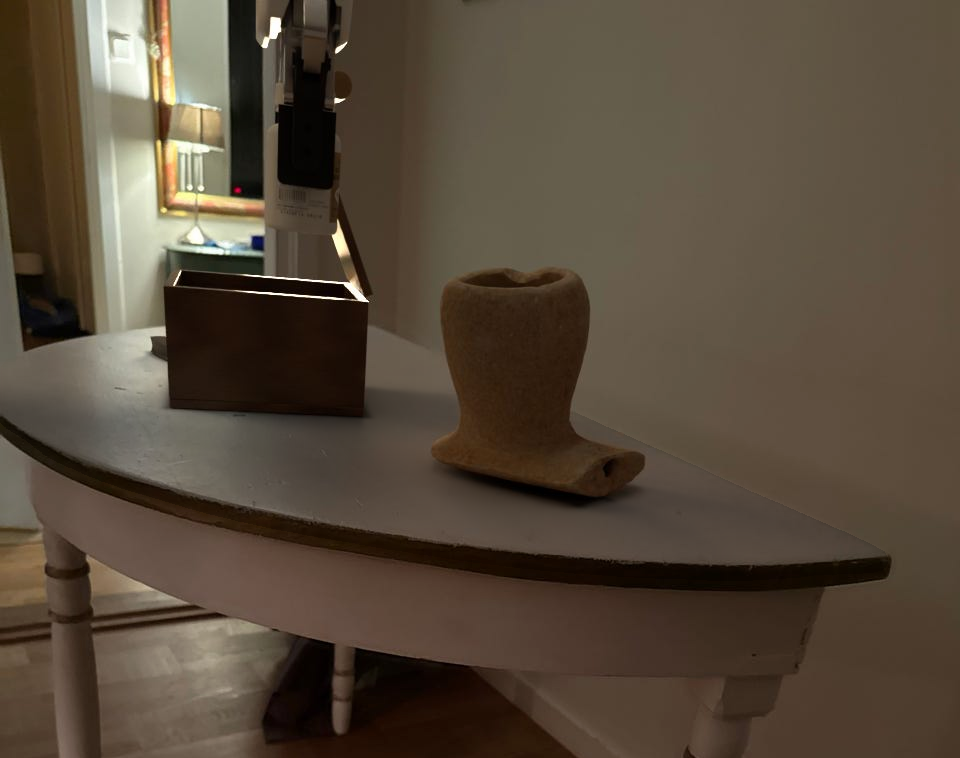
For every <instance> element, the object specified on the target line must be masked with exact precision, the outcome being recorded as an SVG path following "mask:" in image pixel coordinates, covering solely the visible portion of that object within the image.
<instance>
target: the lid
mask: <svg viewBox="0 0 960 758" xmlns="http://www.w3.org/2000/svg"><path fill="white" fill-rule="evenodd" d="M277 81H278V82H279V81H280V76H279V77H278V78H277ZM334 92H335V104H337V103H340V102H342V101H344V100H346V99H347V98H348V97H350V95H351V94H352V92H353V82H352V79H351V77H350V75H348V74H347V72H345V71H342V70H335V86H334ZM331 237H332V240H333V243H334V247H335V248H336V252H337V255H338V257H339V259H340V263H341V266H342V269H343V271H344V274H345V278H346V280H347V281H348V283H351V284H352V286H353V287H354V288H355V289H356V290H357V291H358V292H359V293H360V294H361V295H362V296H363V297H364V298H367V297H371V296H373V295H374V293H373V289H372V286H371V283H370V280H369V278H368V275H367V272H366V269H365V265H364V262H363V259H362V256H361V254H360V251H359V247H358V244H357V242H356V239H355V235H354V233H353V230H352V227H351V224H350V221H349V218H348V215H347V212H346V209H345V205H344V202H343V200H342V197H341V194H340V193H339V205H338V220H337V232H336V233H335V234H334V235H331Z"/></svg>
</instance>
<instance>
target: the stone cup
mask: <svg viewBox="0 0 960 758" xmlns="http://www.w3.org/2000/svg"><path fill="white" fill-rule="evenodd" d="M447 281H448V282H446V284H445V285H444V287H443V290H442V292H441V296H440V303H439V319H440V321H439V323H440V330H441V336H442V342H443V348H444V354H445V358H446V363H447V367H448V370H449V374H450V377H451V380H452V383H453V384H452V385H453V387H454V391H455V395H456V397H457V401H458V402H457V403H458V406H459V412H460V414H459V420H458V425H457V427H456V428H455V430H454V431H452V432H450V433H448V434H446V435H444V436H442V437H440V438H439V439H437V440H436V441H435V442H433V444H432V445H431V447H430V454H431V456H432V458H434V459H435V460H436V461H437V462H439V463H442V464H445V465H448V466H451V467H454V468H457V469H460V470H464V471H467V472H471V473H475V474H481V475H485V476H489V477H493V478H497V479H502V480H505V481H506V480H507V481H511V482H515V483H521V484H526V485H531V486H535V487H541V488H545V489H550V490H555V491H561V492H565V493H571V494H575V495H576V494H577V495H581V496H584V497H585V496H586V497H594V498H598V497H604V496H606V495H609V494H612V493H614V492H616V491H617V490H620V489H622V488H624V487H625V486H626V485H627V484H629V483H631V482H633V481H634V479H635V478H636V477H637V476H638V475H640V473H641V472H643V471H644V469H645V466H646V455H645V453H644V454H643V453H642V452H640V451H637V450H633V449H628V448H624V447H620V446H616V445H611V444H609V443H608V444H607V443H604V442H600V441H596V440H592V439H589V438H586V437H584V436H582V435H581V434H579V433H577V432H576V429H574V427H573V426H572V423H571V419H570V417H571V408H572V402H573V398H574V394H575V390H576V387H577V384H578V380H579V377H580V373H581V372H582V371H581V370H582V366H583V363H584V359H585V355H586V351H587V347H588V341H589V333H590V324H591V322H590V321H591V302H590V297H589V292H588V290H587V288H586V286H585V283H584V281H583V279H582V277H581V276H580V275H579V274H578V273H577V272H575V271H573V270H572V269H570V268H562V267H558V266H544V267H541V268H539V269H538V270H534V271H531V272H523V271H519V270H516V269H513V268H508V267H493V268H492V267H491V268H484V269H479V270H473V271H469V272H466V273H464V274H461V275H456V276H453V277H452V278H450V279H449V280H447Z"/></svg>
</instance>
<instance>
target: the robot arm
mask: <svg viewBox="0 0 960 758" xmlns="http://www.w3.org/2000/svg"><path fill="white" fill-rule="evenodd" d="M353 4H354V0H255V40H256V41H257V43H258V44H259V46H261V47H262V48H264V49H267V48H268V45H269V41H270V39H272V40H273V39H274V40H276V39H277V37H278V35H279V33H280V44H279V45H280V46H279V48H280V49H279V77H280V81H278V83H284V88H283V103H284V104H286V105H283V104H278V112H277V111H276V110H275V109H276V108H277V107H274V124H277V123H278V153H277V178H278V180H279V182H280V183H282V184H285V185H293V186H300V187H308V188H316V189H324V190H329V189H331V188H332V186H333V181H334V158H335V135H337V134H336V133H337V112H336V111H335V112H333V108H334V86H335V71H336V54H338V53H339V52H340V51H342V49H343V48H344V47H345V46H346V45H347V44H348V41H349V37H350V33H351V32H350V31H351V24H352V15H353V6H354V5H353ZM290 105H292V106H290ZM323 110H325V111H323ZM329 111H332V112H329Z"/></svg>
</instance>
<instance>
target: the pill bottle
mask: <svg viewBox="0 0 960 758" xmlns="http://www.w3.org/2000/svg"><path fill="white" fill-rule="evenodd" d="M283 88H284V83H279V82H276V83H275V89H274V90H275V94H274V106H275V108H276V109H275V108H274V111H275V110H276V111H277V112H278V104H283V105H286V104H284V103H283ZM290 106H292V105H290ZM323 111H325V110H323ZM329 112H332V111H329ZM333 112H336V103H335V92H334V108H333ZM265 144H266V146H265V198H264V199H265V200H264V202H265V203H264V207H265V208H264V215H265V216H264V221H265V225H266V226H267V227H268V228H270V229H274V230H278V231H284V232H290V233H297V234H303V235H306V234H307V235H317V236H332V235H334V234H335V233H336V232H337V220H338V205H339V194H340V179H341V177H340V176H341V161H342V160H341V159H342V158H341V157H342V142H341V139H340V137H339V136H338V135H337V134H336V135H335V158H334V181H333V186H332V188H331V189H329V190H324V189H316V188H308V187H300V186H293V185H285V184H282V183H280V182H279V180H278V178H277V153H278V123H277V124H275V123H273V124H271V126H270V127H269V128H268V129H267V132H266V143H265Z"/></svg>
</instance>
